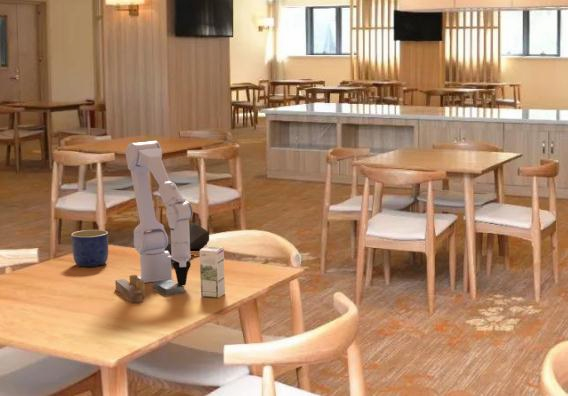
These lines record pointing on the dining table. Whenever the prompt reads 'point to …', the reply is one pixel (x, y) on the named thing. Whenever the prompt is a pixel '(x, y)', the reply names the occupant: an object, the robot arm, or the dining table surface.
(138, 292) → the bench dog strip
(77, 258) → the planter
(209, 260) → the syrup box
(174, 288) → the steel plate
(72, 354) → the dining table surface
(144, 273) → the robot arm
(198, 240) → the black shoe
